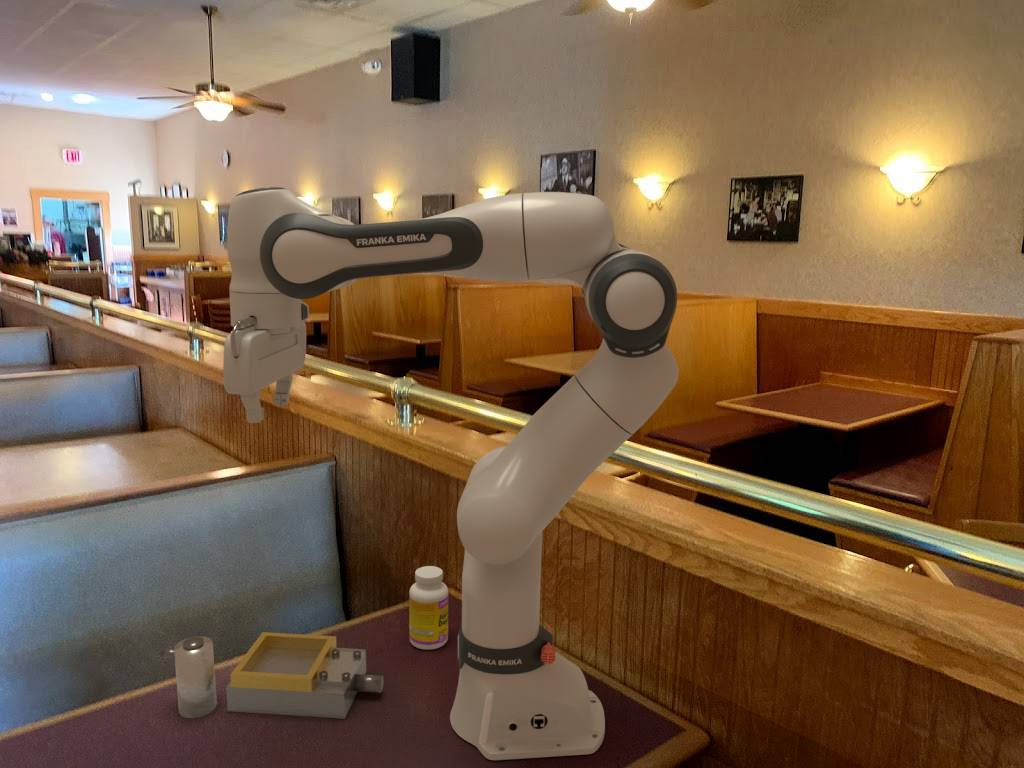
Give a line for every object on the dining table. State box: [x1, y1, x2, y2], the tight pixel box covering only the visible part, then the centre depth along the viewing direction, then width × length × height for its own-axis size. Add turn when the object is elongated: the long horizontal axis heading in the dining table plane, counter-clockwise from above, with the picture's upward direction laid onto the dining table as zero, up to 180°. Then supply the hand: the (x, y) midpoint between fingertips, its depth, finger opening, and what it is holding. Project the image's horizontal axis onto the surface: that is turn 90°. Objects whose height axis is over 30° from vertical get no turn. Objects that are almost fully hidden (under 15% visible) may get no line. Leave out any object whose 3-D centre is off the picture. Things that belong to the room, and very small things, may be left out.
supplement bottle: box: [408, 565, 449, 651], centre depth 133 cm, size 7×7×13 cm
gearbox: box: [225, 631, 384, 720], centre depth 118 cm, size 22×12×6 cm, turn 86°
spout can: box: [159, 635, 218, 719], centre depth 113 cm, size 7×5×11 cm
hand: (269, 413), depth 106 cm, fingers open, 8 cm apart
